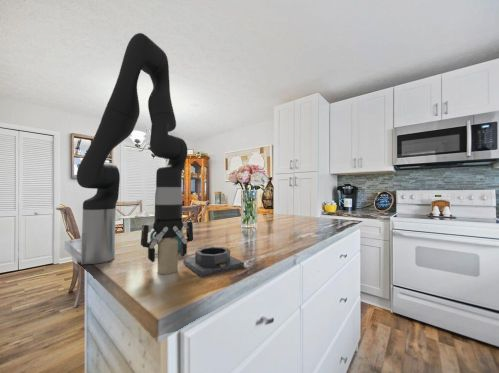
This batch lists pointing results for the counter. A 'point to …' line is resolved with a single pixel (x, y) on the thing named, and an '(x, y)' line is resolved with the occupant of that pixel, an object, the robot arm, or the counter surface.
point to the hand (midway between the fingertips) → (168, 258)
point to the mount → (212, 261)
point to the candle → (167, 256)
